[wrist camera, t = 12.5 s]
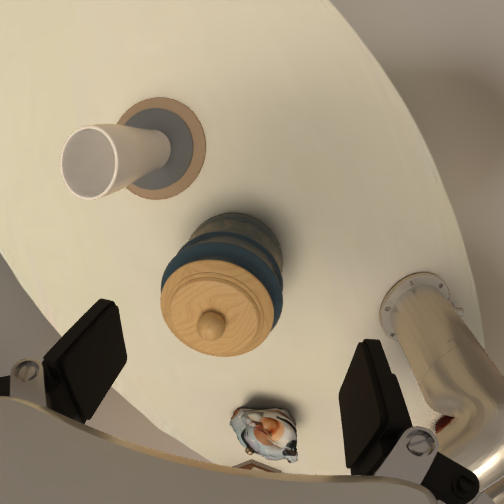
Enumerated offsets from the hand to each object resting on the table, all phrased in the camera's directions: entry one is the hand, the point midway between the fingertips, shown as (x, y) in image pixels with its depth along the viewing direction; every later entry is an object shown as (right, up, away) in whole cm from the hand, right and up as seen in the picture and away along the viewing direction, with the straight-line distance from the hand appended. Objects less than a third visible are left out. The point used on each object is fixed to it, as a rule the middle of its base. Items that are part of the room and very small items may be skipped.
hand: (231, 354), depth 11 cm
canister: (-1, +3, +31) cm, 31 cm away
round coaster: (-12, +17, +26) cm, 34 cm away
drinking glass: (-12, +17, +25) cm, 33 cm away
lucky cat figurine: (+3, -30, +44) cm, 53 cm away
